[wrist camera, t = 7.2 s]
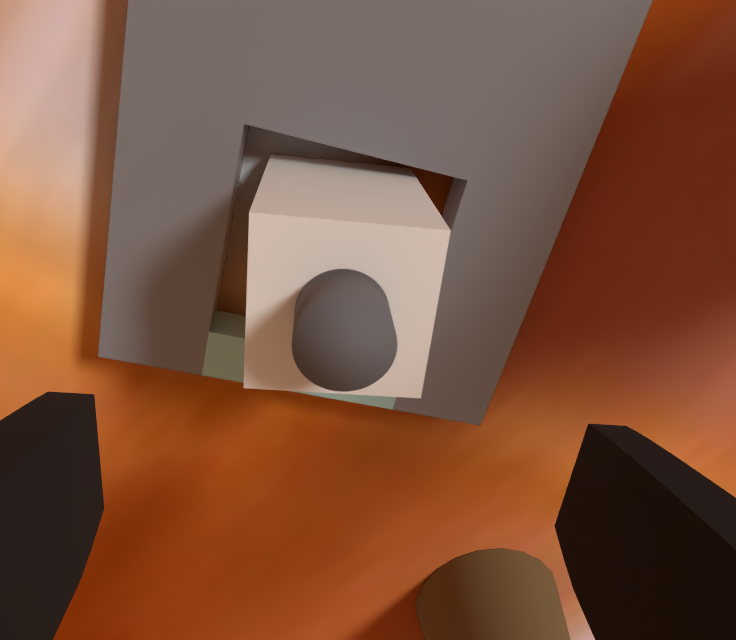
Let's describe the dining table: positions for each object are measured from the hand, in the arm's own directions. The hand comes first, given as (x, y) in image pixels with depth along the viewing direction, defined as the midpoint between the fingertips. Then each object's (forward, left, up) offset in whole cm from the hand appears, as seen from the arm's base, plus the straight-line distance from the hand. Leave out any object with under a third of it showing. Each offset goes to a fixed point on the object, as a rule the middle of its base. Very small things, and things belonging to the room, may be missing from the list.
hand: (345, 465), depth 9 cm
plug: (0, 0, -10) cm, 10 cm away
